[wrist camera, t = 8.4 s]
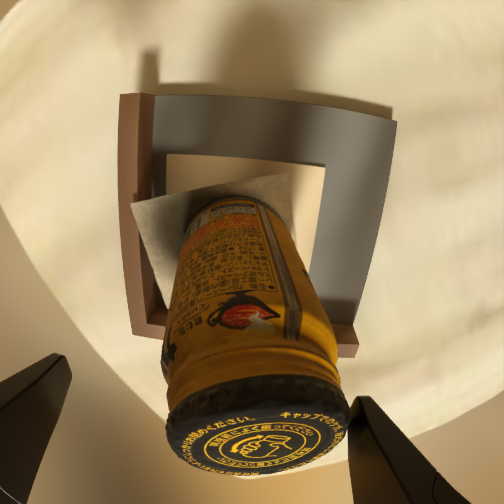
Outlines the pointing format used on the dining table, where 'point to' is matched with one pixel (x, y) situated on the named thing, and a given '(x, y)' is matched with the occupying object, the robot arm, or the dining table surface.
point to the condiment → (241, 330)
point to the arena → (252, 166)
